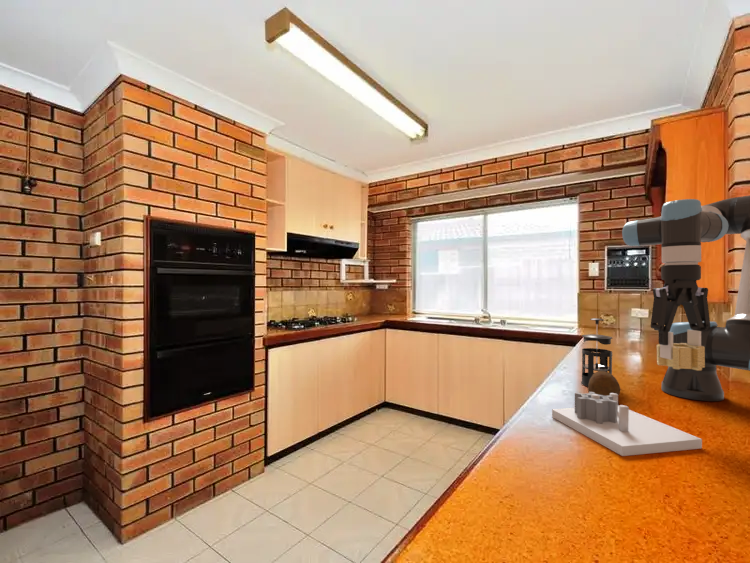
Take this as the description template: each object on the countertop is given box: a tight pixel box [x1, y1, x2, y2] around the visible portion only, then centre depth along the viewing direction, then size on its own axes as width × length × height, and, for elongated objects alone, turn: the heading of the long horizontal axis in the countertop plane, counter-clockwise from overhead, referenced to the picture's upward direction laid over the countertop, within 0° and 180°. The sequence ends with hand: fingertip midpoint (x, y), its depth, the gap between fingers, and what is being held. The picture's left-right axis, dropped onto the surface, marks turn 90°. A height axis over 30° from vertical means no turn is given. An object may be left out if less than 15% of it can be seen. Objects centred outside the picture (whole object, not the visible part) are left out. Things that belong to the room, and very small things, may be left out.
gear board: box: [551, 391, 703, 457], centre depth 89 cm, size 20×22×8 cm
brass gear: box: [656, 343, 705, 371], centre depth 91 cm, size 9×9×5 cm
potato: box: [587, 371, 622, 397], centre depth 112 cm, size 8×12×9 cm
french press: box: [580, 317, 613, 388], centre depth 128 cm, size 12×9×23 cm
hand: (680, 357), depth 91 cm, fingers closed on brass gear, 7 cm apart
